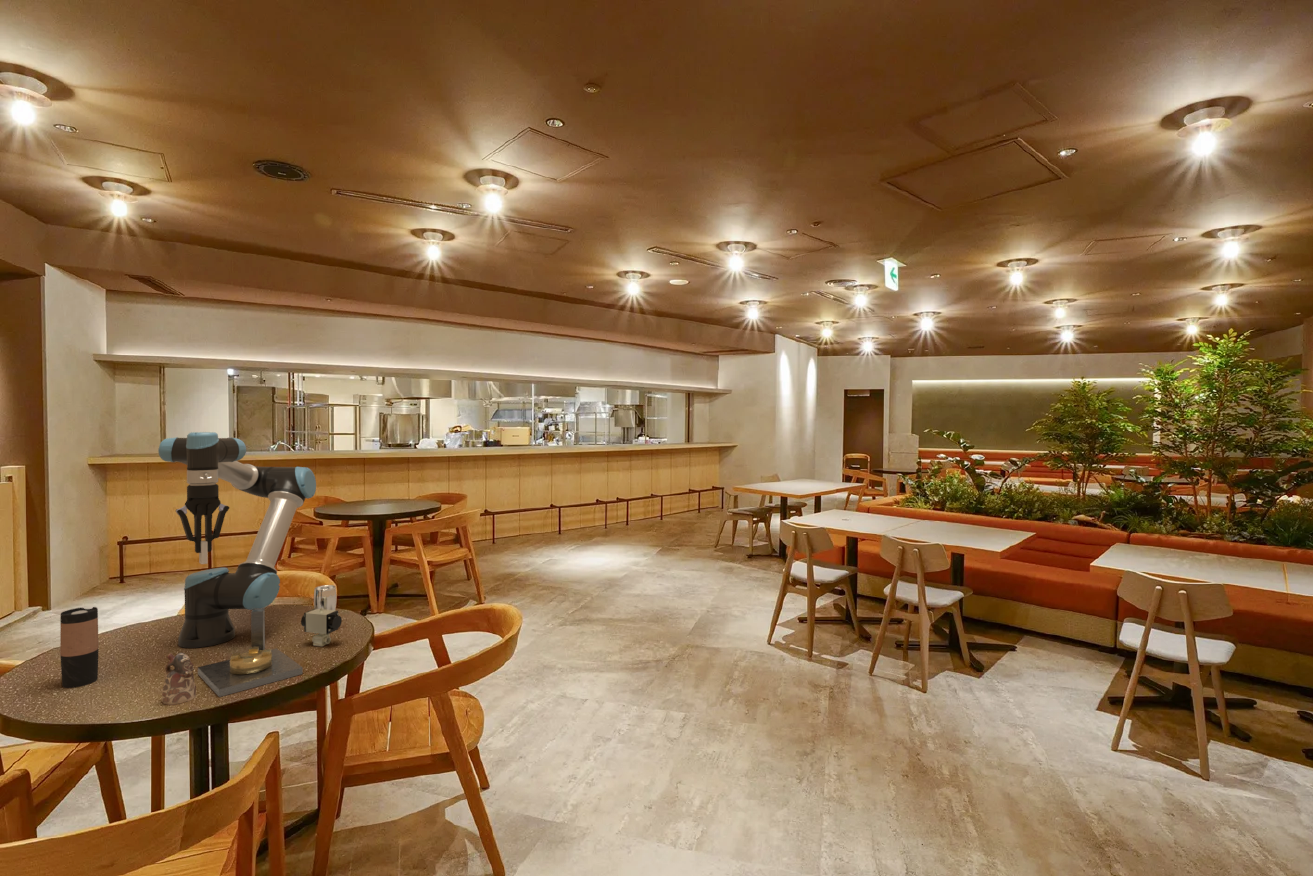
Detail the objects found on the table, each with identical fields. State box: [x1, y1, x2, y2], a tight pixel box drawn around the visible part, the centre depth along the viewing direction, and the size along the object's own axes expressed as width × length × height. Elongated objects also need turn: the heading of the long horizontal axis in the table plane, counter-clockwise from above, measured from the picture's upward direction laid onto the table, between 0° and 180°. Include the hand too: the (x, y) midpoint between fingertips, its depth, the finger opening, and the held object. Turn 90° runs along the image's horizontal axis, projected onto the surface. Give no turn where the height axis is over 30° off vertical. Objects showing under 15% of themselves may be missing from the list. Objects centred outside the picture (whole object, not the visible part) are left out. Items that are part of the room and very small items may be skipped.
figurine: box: [161, 652, 197, 706], centre depth 158 cm, size 7×7×12 cm
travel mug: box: [59, 606, 100, 689], centre depth 168 cm, size 8×8×20 cm
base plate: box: [197, 648, 304, 698], centre depth 174 cm, size 22×20×2 cm
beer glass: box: [313, 584, 337, 610], centre depth 212 cm, size 7×7×15 cm
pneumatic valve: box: [300, 608, 343, 647], centre depth 198 cm, size 6×12×12 cm, turn 78°
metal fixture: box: [229, 607, 272, 674], centre depth 177 cm, size 18×10×13 cm, turn 25°
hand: (203, 563), depth 180 cm, fingers closed
